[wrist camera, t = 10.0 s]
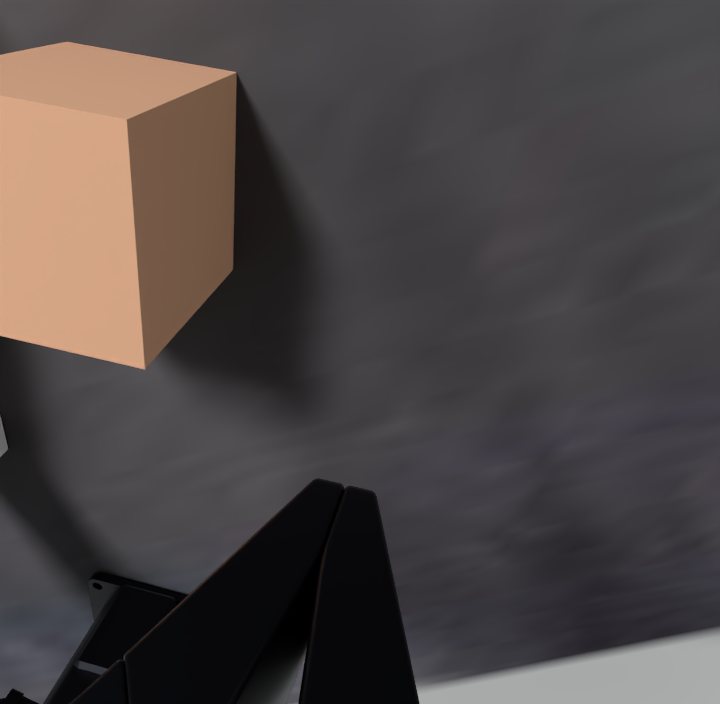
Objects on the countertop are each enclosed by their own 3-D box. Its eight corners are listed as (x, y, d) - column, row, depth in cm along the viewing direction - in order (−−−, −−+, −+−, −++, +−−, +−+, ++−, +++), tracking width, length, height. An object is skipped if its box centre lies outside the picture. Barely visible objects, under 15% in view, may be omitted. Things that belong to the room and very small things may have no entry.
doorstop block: (233, 269, 21) (144, 369, 16) (90, 238, 21) (-40, 326, 16) (237, 72, 17) (126, 119, 12) (67, 41, 18) (-105, 75, 13)
